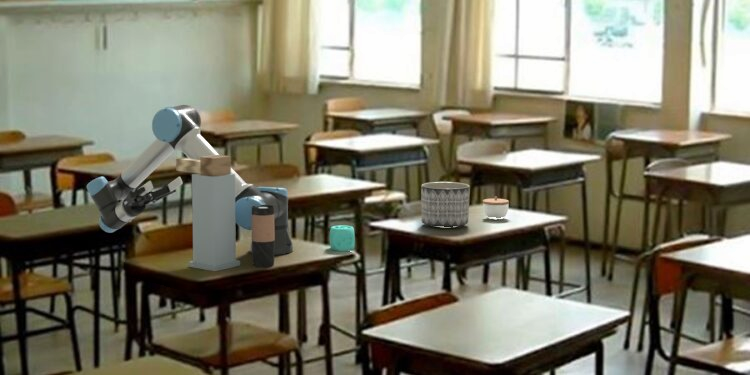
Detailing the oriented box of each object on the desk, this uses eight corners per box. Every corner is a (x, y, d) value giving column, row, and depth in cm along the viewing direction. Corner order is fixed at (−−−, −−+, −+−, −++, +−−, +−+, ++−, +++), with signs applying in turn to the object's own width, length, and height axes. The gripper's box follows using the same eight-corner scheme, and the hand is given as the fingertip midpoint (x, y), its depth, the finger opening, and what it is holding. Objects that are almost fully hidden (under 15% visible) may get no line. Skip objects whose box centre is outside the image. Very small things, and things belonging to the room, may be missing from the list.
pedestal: (189, 266, 410) (187, 174, 406) (214, 260, 420) (213, 170, 415) (214, 271, 403) (213, 177, 399) (240, 265, 413) (239, 174, 408)
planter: (411, 226, 487) (411, 185, 485) (437, 220, 503) (438, 180, 500) (452, 232, 476) (453, 190, 474) (478, 225, 492) (478, 184, 489)
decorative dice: (329, 247, 445) (329, 225, 444) (351, 246, 447) (351, 225, 445) (332, 251, 438) (332, 229, 436) (354, 251, 439) (354, 229, 438)
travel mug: (271, 268, 409) (270, 208, 406) (249, 266, 410) (248, 207, 408) (277, 263, 416) (277, 205, 413) (255, 262, 418) (255, 204, 415)
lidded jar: (498, 216, 514) (499, 193, 513) (513, 220, 505) (514, 197, 504) (477, 218, 509) (477, 195, 508) (492, 222, 500) (492, 199, 499)
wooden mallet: (171, 171, 414) (170, 153, 413) (188, 168, 420) (188, 151, 419) (213, 176, 402) (213, 158, 401) (230, 174, 408) (230, 156, 407)
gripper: (161, 212, 443) (196, 188, 431) (107, 221, 423) (142, 196, 411) (153, 193, 444) (188, 168, 432) (99, 202, 425) (134, 176, 412)
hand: (166, 182), depth 421 cm, fingers open, 13 cm apart
